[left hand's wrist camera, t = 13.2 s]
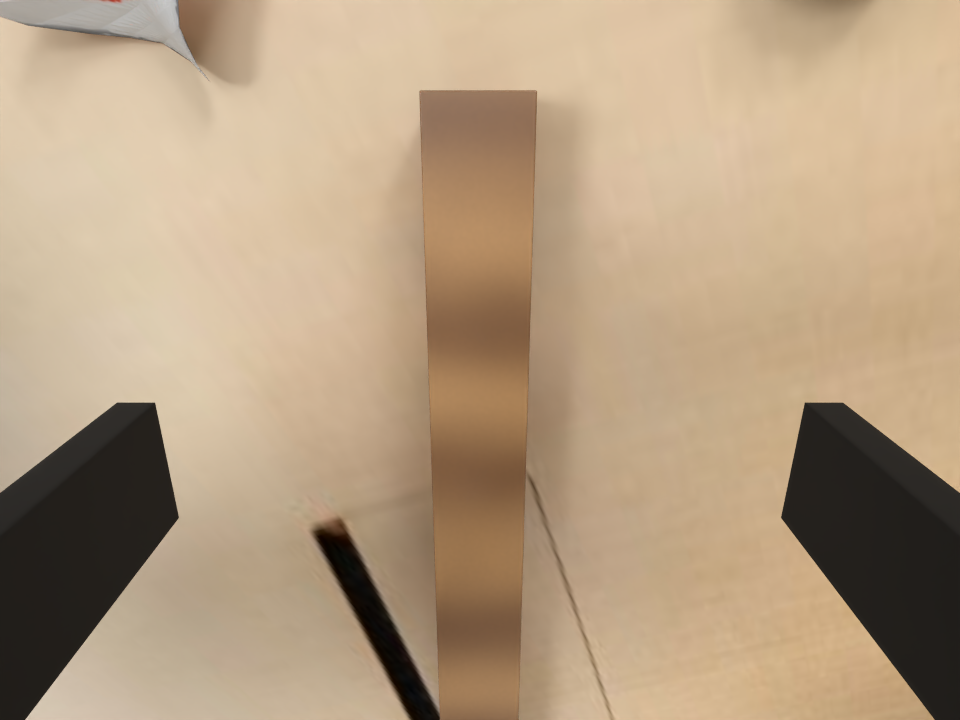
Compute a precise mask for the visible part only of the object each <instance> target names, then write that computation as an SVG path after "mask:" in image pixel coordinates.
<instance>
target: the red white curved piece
mask: <svg viewBox="0 0 960 720" xmlns="http://www.w3.org/2000/svg"><path fill="white" fill-rule="evenodd" d="M0 17H3V18H6V19H9V20H12V21H15V22H18V23H22V24H25V25H28V26H35V27H43V28H51V29H58V30H66V31H73V32H81V33H89V34H98V35H109V36H119V37H129V38H135V39H141V40H147V41H153V42H159V43H163V44H165V45H166V46H168V47H169V48H171V49H173V50H174V51H176V52H177V53H179V54H180V55H182V56H183V57H185V58H186V59H188V60H189V61H191V62H192V63H193V64H194V65H195V67H196V68H197V69H198V70H199V71H200V72H201V73H202V74H203V75H204V73H203V72H202V71H201V69H200V68H199V67H198V66H197V64H196V62H195V59H194V57H193V55H192V53H191V51H190V49H189V47H188V45H187V43H186V41H185V38H184V36H183V34H182V32H181V29H180V27H179V9H178V0H0ZM204 76H205V75H204ZM205 77H206V76H205ZM206 78H207V77H206ZM207 79H208V78H207Z"/></svg>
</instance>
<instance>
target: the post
mask: <svg viewBox="0 0 960 720" xmlns="http://www.w3.org/2000/svg"><path fill="white" fill-rule="evenodd" d="M536 106H537V91H420V122H421V153H422V183H423V214H424V244H425V275H426V306H427V336H428V367H429V397H430V428H431V458H432V489H433V519H434V550H435V581H436V611H437V642H438V672H439V703H440V720H518V708H519V675H520V641H521V608H522V574H523V541H524V507H525V474H526V441H527V407H528V374H529V340H530V307H531V274H532V240H533V207H534V173H535V140H536Z"/></svg>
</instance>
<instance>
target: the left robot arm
mask: <svg viewBox="0 0 960 720" xmlns="http://www.w3.org/2000/svg"><path fill="white" fill-rule="evenodd" d="M178 518H179V516H178V511H177V507H176V502H175V497H174V492H173V487H172V482H171V478H170V473H169V468H168V463H167V458H166V453H165V449H164V444H163V439H162V434H161V429H160V424H159V420H158V415H157V410H156V405H155V403H116V404H115V405H114V406H112V407H111V408H110V409H108V410H107V411H106V412H105V413H103V414H102V415H101V416H99V417H98V418H97V419H95V420H94V421H93V422H92V423H90V424H89V425H88V426H86V427H85V428H84V429H83V430H81V431H80V432H79V433H77V434H76V435H75V436H73V437H72V438H71V439H70V440H68V441H67V442H66V443H64V444H63V445H62V446H61V447H59V448H58V449H57V450H55V451H54V452H53V453H51V454H50V455H49V456H48V457H46V458H45V459H44V460H42V461H41V462H40V463H39V464H37V465H36V466H35V467H33V468H32V469H31V470H29V471H28V472H27V473H26V474H24V475H23V476H22V477H20V478H19V479H18V480H17V481H15V482H14V483H13V484H11V485H10V486H9V487H8V488H6V489H5V490H4V491H2V492H1V493H0V720H25V719H26V718H27V717H28V715H29V714H30V713H31V711H32V710H33V709H34V707H35V706H36V705H37V703H38V702H39V701H40V699H41V698H42V697H43V696H44V694H45V693H46V692H47V690H48V689H49V688H50V686H51V685H52V684H53V682H54V681H55V680H56V678H57V677H58V676H59V674H60V673H61V672H62V671H63V669H64V668H65V667H66V665H67V664H68V663H69V661H70V660H71V659H72V657H73V656H74V655H75V653H76V652H77V651H78V650H79V648H80V647H81V646H82V644H83V643H84V642H85V640H86V639H87V638H88V636H89V635H90V634H91V632H92V631H93V630H94V629H95V627H96V626H97V625H98V623H99V622H100V621H101V619H102V618H103V617H104V615H105V614H106V613H107V611H108V610H109V609H110V608H111V606H112V605H113V604H114V602H115V601H116V600H117V598H118V597H119V596H120V594H121V593H122V592H123V590H124V589H125V588H126V586H127V585H128V584H129V583H130V581H131V580H132V579H133V577H134V576H135V575H136V573H137V572H138V571H139V569H140V568H141V567H142V565H143V564H144V563H145V562H146V560H147V559H148V558H149V556H150V555H151V554H152V552H153V551H154V550H155V548H156V547H157V546H158V544H159V543H160V542H161V541H162V539H163V538H164V537H165V535H166V534H167V533H168V531H169V530H170V529H171V527H172V526H173V525H174V523H175V522H176V521H177V520H178ZM781 518H782V520H783V521H784V522H785V523H786V525H787V526H788V527H789V529H790V530H791V531H792V533H793V534H794V535H795V537H796V538H797V539H798V541H799V542H800V543H801V544H802V546H803V547H804V548H805V550H806V551H807V552H808V554H809V555H810V556H811V558H812V559H813V560H814V562H815V563H816V564H817V565H818V567H819V568H820V569H821V571H822V572H823V573H824V575H825V576H826V577H827V579H828V580H829V581H830V583H831V584H832V585H833V586H834V588H835V589H836V590H837V592H838V593H839V594H840V596H841V597H842V598H843V600H844V601H845V602H846V604H847V605H848V606H849V608H850V609H851V610H852V611H853V613H854V614H855V615H856V617H857V618H858V619H859V621H860V622H861V623H862V625H863V626H864V627H865V629H866V630H867V631H868V632H869V634H870V635H871V636H872V638H873V639H874V640H875V642H876V643H877V644H878V646H879V647H880V648H881V650H882V651H883V652H884V653H885V655H886V656H887V657H888V659H889V660H890V661H891V663H892V664H893V665H894V667H895V668H896V669H897V671H898V672H899V673H900V674H901V676H902V677H903V678H904V680H905V681H906V682H907V684H908V685H909V686H910V688H911V689H912V690H913V692H914V693H915V694H916V696H917V697H918V698H919V699H920V701H921V702H922V703H923V705H924V706H925V707H926V709H927V710H928V711H929V713H930V714H931V715H932V717H933V718H934V719H935V720H960V493H959V492H958V491H956V490H955V489H954V488H952V487H951V486H950V485H949V484H947V483H946V482H945V481H943V480H942V479H941V478H940V477H938V476H937V475H936V474H934V473H933V472H932V471H931V470H929V469H928V468H927V467H925V466H924V465H923V464H921V463H920V462H919V461H918V460H916V459H915V458H914V457H912V456H911V455H910V454H909V453H907V452H906V451H905V450H903V449H902V448H901V447H899V446H898V445H897V444H896V443H894V442H893V441H892V440H890V439H889V438H888V437H887V436H885V435H884V434H883V433H881V432H880V431H879V430H877V429H876V428H875V427H874V426H872V425H871V424H870V423H868V422H867V421H866V420H865V419H863V418H862V417H861V416H859V415H858V414H857V413H855V412H854V411H853V410H852V409H850V408H849V407H848V406H846V405H845V404H844V403H805V405H804V410H803V415H802V420H801V424H800V429H799V434H798V439H797V444H796V449H795V453H794V458H793V463H792V468H791V473H790V478H789V482H788V487H787V492H786V497H785V502H784V507H783V511H782V516H781Z"/></svg>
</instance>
